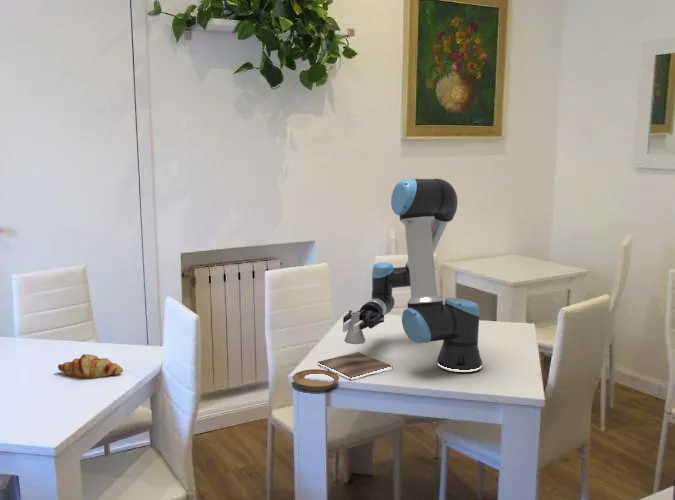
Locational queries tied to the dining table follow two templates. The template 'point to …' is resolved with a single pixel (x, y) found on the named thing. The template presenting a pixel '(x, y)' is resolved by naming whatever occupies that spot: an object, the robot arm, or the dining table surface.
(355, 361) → the walnut board
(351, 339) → the flask
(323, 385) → the plant saucer
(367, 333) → the dining table surface
